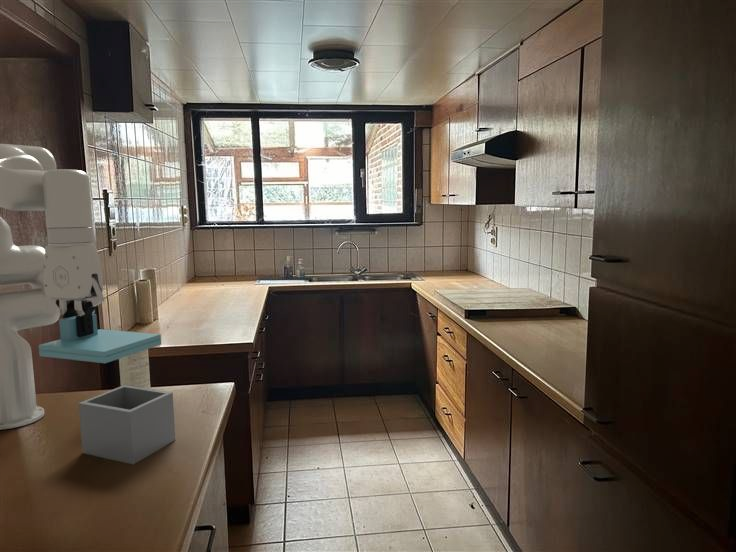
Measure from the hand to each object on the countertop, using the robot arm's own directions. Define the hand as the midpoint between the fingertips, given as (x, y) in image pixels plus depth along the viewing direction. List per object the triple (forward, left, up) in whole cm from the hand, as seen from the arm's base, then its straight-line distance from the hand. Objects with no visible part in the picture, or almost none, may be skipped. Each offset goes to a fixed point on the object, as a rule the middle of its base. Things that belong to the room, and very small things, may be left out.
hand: (79, 334), depth 100 cm
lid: (+5, 0, -3) cm, 6 cm away
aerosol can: (-16, +28, -28) cm, 43 cm away
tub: (-1, +11, -28) cm, 30 cm away
